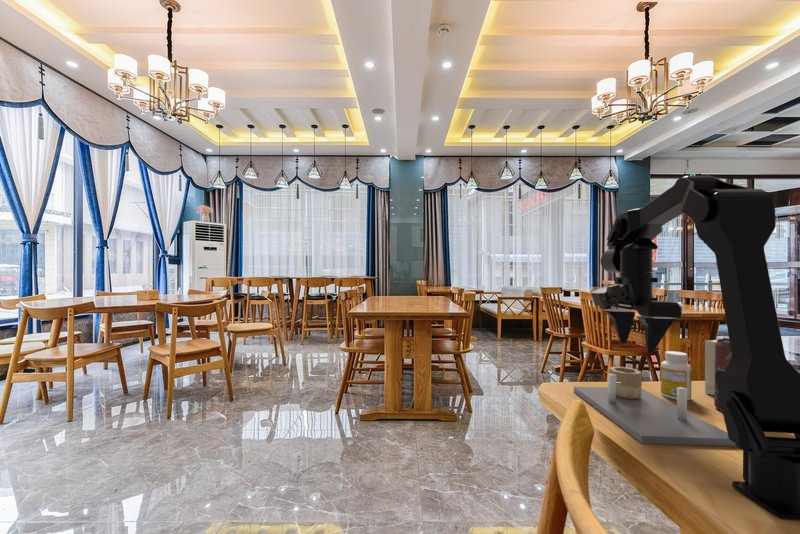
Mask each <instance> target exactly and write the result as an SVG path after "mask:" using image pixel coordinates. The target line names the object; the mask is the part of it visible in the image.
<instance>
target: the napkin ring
mask: <svg viewBox="0 0 800 534" xmlns="http://www.w3.org/2000/svg"><path fill="white" fill-rule="evenodd" d="M608 374H616V382H621V383H616V396H620V397H625V398H639V397H641V388H642V383H643V382H642V381H643V379H642V377H643V375H642V371H641V370H639V369H636V368H631V367H626V366H611V367H609V368H608Z"/></svg>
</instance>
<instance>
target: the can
mask: <svg viewBox="0 0 800 534" xmlns="http://www.w3.org/2000/svg"><path fill="white" fill-rule="evenodd" d="M716 340H717V342H716V343H715V375H716V371H717V370H725V369H726V367H727V365H728V364H729V362H730V360H731V359H732V353H731V347H730V341H729V338H718V339H716ZM713 397H714V406H715V408H716V410H718V411H720V412H722V408H721V404H720V401H718V385H717V381H716V378H715V388H714V396H713Z"/></svg>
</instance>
